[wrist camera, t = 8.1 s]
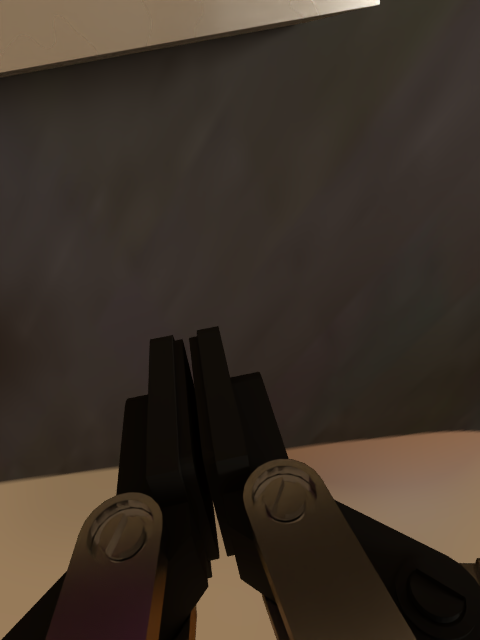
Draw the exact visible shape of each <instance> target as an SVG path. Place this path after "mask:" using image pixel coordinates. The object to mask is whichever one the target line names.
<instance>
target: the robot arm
mask: <svg viewBox="0 0 480 640" xmlns="http://www.w3.org/2000/svg"><path fill="white" fill-rule="evenodd" d="M189 342H190V351H191V360H192V369H193V378H194V384H193V380H192V376H191V372H190V367H189V363H188V359H187V355H186V351H185V347H184V343H183V340H182V339H181V340H176V341H175V340H174V337H173V335H171V336H166V337H161V338H156V339H151V340H150V352H149V385H148V395H144V396H139V397H134V398H129V399H127V400H126V404H125V411H124V422H123V432H122V442H121V453H120V463H119V473H118V484H117V494H116V496H114V497H112V498H110V499H108V500H106V501H104V502H103V503H102V504H101V505H100V506H98V507H97V508H96V509H95V510H94V511H93V512H92V513H91V514H90V515H89V517H88V518H87V519H86V520H85V522H84V524H83V526H82V528H81V531H80V533H79V535H78V538H77V542H76V545H75V548H74V551H73V554H72V558H71V560H70V564H69V567H68V570H67V571H66V573H64V575H63V576H62V577H61V578H60V579H59V580H58V581H57V582H56V583H55V584H54V585H53V586H52V587H51V588H50V589H49V590H48V591H47V592H46V594H45V595H44V596H43V597H42V598H41V599H40V600H39V601H38V602H37V603H36V604H35V605H34V606H33V607H32V608H31V609H30V611H28V612H27V613H26V614H25V616H24V617H23V618H22V619H21V620H20V621H19V622H18V623H17V624H16V625H15V626H14V627H13V628H12V629H11V630H10V631H9V632H8V633H7V634H6V636H5V637H4V638H3V639H2V640H195V637H196V621H197V611H196V604H197V602H198V601H199V599H200V598H201V596H202V595H203V594H204V592H205V591H206V589H207V588H208V579H207V578H211V577H212V571H211V562H210V561H211V560H215V559H219V548H218V539H217V531H216V524H215V515H214V507H215V511H216V515H217V519H218V522H219V526H220V530H221V534H222V537H223V541H224V546H225V549H226V553H227V556H231V555H235V557H236V562H237V566H238V570H239V574H240V578H241V579H242V580H243V581H244V582H246V583H247V584H249V585H250V586H252V587H253V588H255V589H256V590H258V591H259V592H260V593H262V597H263V601H264V603H265V607H266V610H267V612H268V615H269V618H270V621H271V624H272V627H273V630H274V633H275V636H276V638H277V640H480V558H477V560H476V563H457V562H456V561H454V560H453V559H451V558H449V557H448V556H446V555H445V554H443V553H440V552H438V551H436V550H434V549H432V548H430V547H428V546H426V545H424V544H422V543H420V542H418V541H416V540H414V539H412V538H410V537H408V536H406V535H404V534H402V533H400V532H398V531H396V530H394V529H392V528H390V527H388V526H386V525H384V524H382V523H380V522H378V521H376V520H374V519H372V518H370V517H368V516H366V515H364V514H362V513H360V512H358V511H356V510H354V509H352V508H350V507H348V506H346V505H344V504H342V503H340V502H338V501H336V500H334V499H333V497H332V496H331V494H330V492H329V490H328V489H327V487H326V485H325V484H324V482H323V480H322V479H321V478H320V476H319V475H318V474H317V473H316V471H315V470H314V469H312V468H311V467H309V466H308V465H306V464H305V463H302V462H299V461H296V460H292V459H288V456H287V453H286V450H285V447H284V444H283V441H282V438H281V435H280V431H279V428H278V425H277V422H276V419H275V416H274V413H273V410H272V407H271V404H270V401H269V398H268V395H267V392H266V389H265V386H264V383H263V380H262V377H261V374H260V372H256V373H251V374H246V375H241V376H236V377H231V378H230V375H229V371H228V367H227V362H226V358H225V353H224V349H223V345H222V340H221V336H220V331H219V327H218V326H217V327H212V328H207V329H202V330H197V336H196V337H191V338H189ZM194 387H195V388H194ZM213 503H214V507H213Z"/></svg>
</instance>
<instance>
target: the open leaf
mask: <svg viewBox="0 0 480 640" xmlns="http://www.w3.org/2000/svg"><path fill="white" fill-rule="evenodd" d="M379 4H380V0H0V78H2V77H8V76H13V75H19V74H24V73H30V72H35V71H41V70H46V69H52V68H57V67H63V66H69V65H74V64H80V63H85V62H91V61H96V60H102V59H107V58H113V57H118V56H124V55H129V54H135V53H140V52H146V51H151V50H157V49H162V48H168V47H174V46H179V45H185V44H190V43H196V42H201V41H207V40H212V39H218V38H223V37H229V36H234V35H240V34H245V33H251V32H256V31H262V30H268V29H273V28H279V27H284V26H290V25H295V24H301V23H306V22H311V21H315V20H319V19H323V18H327V17H331V16H335V15H339V14H343V13H347V12H351V11H355V10H359V9H363V8H367V7H371V6H375V5H379Z"/></svg>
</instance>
